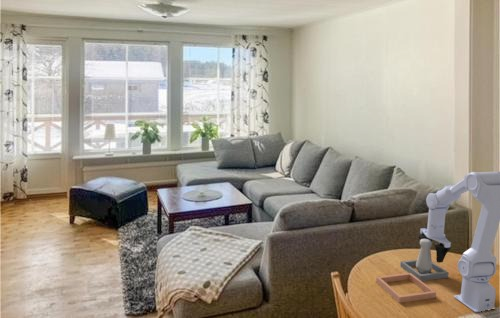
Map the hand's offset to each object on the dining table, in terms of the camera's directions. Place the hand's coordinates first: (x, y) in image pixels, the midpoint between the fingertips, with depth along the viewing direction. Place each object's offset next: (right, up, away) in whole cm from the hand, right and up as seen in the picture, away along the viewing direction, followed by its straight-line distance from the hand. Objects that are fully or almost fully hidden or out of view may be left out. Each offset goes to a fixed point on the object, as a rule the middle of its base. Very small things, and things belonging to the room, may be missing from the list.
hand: (432, 257), depth 146 cm
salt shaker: (-4, -6, 0) cm, 7 cm away
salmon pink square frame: (-16, -8, -13) cm, 22 cm away
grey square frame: (-4, -5, 0) cm, 6 cm away
